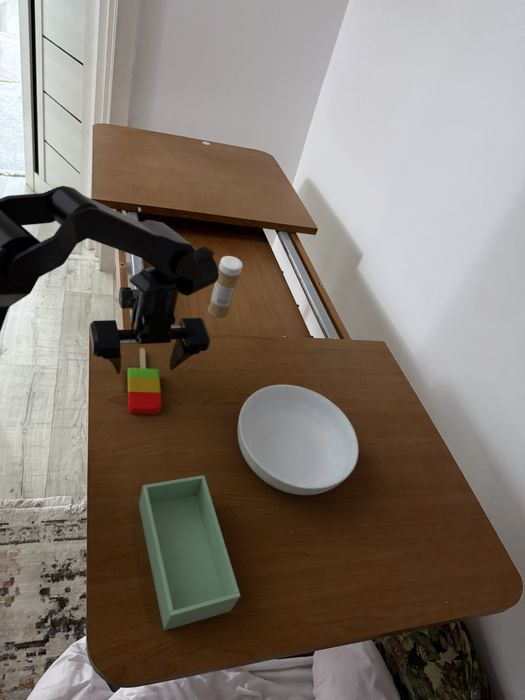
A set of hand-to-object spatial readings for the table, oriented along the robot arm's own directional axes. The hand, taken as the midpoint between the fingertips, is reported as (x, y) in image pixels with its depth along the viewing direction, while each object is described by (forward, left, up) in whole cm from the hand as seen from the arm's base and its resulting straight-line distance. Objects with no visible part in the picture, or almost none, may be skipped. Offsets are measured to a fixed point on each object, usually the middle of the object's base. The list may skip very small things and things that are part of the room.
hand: (144, 370), depth 88 cm
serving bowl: (+21, -19, -3) cm, 29 cm away
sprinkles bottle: (+19, +18, -3) cm, 27 cm away
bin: (-1, -32, -3) cm, 32 cm away
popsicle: (0, 0, -3) cm, 3 cm away
